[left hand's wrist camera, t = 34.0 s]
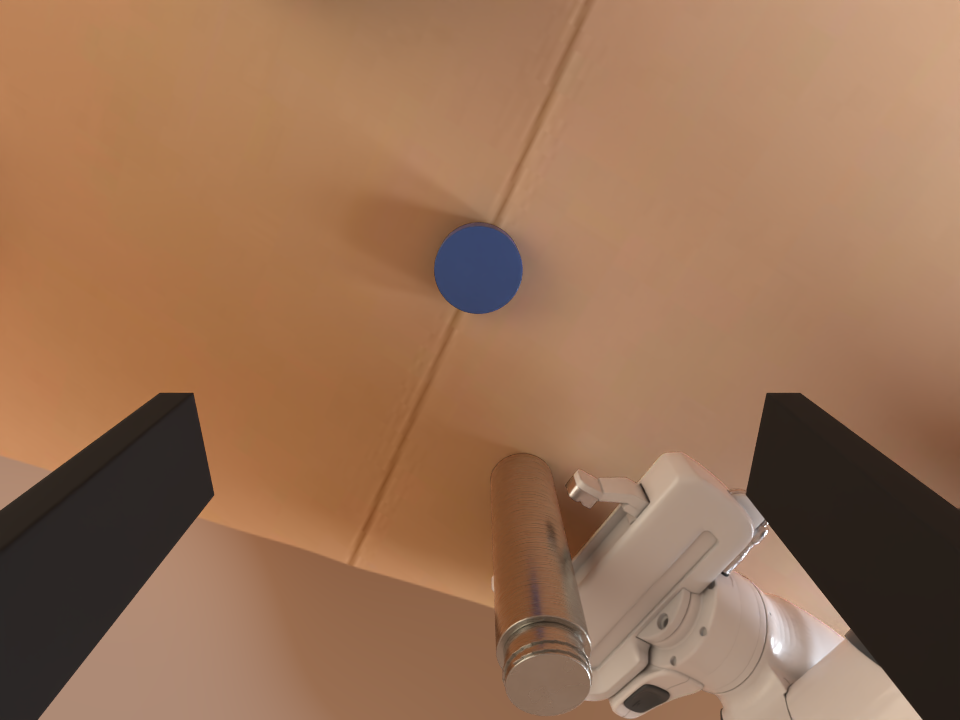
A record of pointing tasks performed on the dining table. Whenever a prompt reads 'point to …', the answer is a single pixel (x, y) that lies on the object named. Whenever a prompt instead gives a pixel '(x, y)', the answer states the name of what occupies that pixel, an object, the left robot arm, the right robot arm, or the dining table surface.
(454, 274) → the lid
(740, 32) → the dining table surface
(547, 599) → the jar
